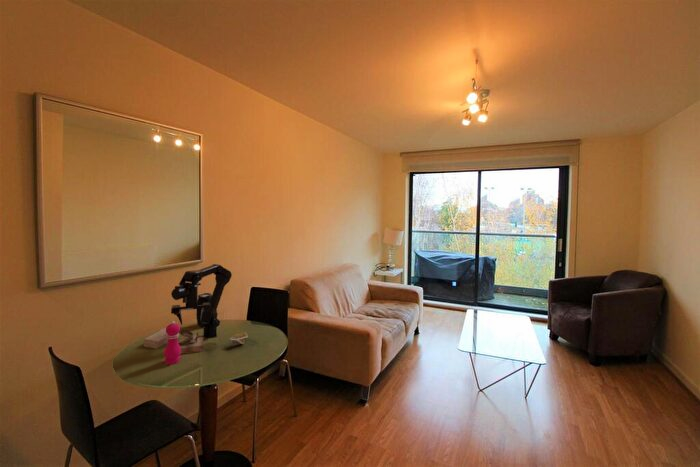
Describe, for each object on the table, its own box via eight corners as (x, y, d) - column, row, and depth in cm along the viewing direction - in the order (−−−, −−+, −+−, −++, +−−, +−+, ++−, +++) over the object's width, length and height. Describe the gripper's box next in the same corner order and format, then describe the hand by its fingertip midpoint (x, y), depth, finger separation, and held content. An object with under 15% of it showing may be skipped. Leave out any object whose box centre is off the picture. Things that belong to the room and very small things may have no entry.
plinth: (203, 341, 177) (203, 336, 177) (203, 350, 166) (203, 345, 166) (178, 344, 172) (178, 339, 172) (177, 354, 161) (177, 348, 161)
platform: (259, 345, 178) (260, 333, 177) (228, 354, 165) (228, 341, 165) (249, 338, 186) (249, 327, 186) (218, 346, 174) (218, 334, 173)
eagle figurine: (197, 335, 175) (179, 334, 171) (200, 327, 171) (181, 326, 167) (195, 348, 169) (176, 347, 165) (198, 340, 165) (178, 339, 161)
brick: (157, 348, 166) (157, 340, 166) (142, 347, 167) (142, 338, 167) (178, 336, 183) (178, 328, 182) (164, 335, 184) (164, 327, 183)
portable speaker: (213, 326, 200) (214, 295, 198) (197, 328, 195) (197, 297, 193) (211, 321, 207) (212, 292, 205) (195, 323, 202) (195, 293, 200)
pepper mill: (169, 366, 149) (169, 324, 147) (160, 361, 153) (161, 321, 151) (184, 360, 155) (184, 320, 154) (175, 356, 159) (176, 317, 157)
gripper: (210, 289, 181) (209, 316, 182) (172, 292, 172) (172, 320, 174) (211, 295, 171) (210, 323, 172) (171, 298, 163) (171, 327, 164)
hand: (191, 323), depth 171 cm, fingers open, 9 cm apart
